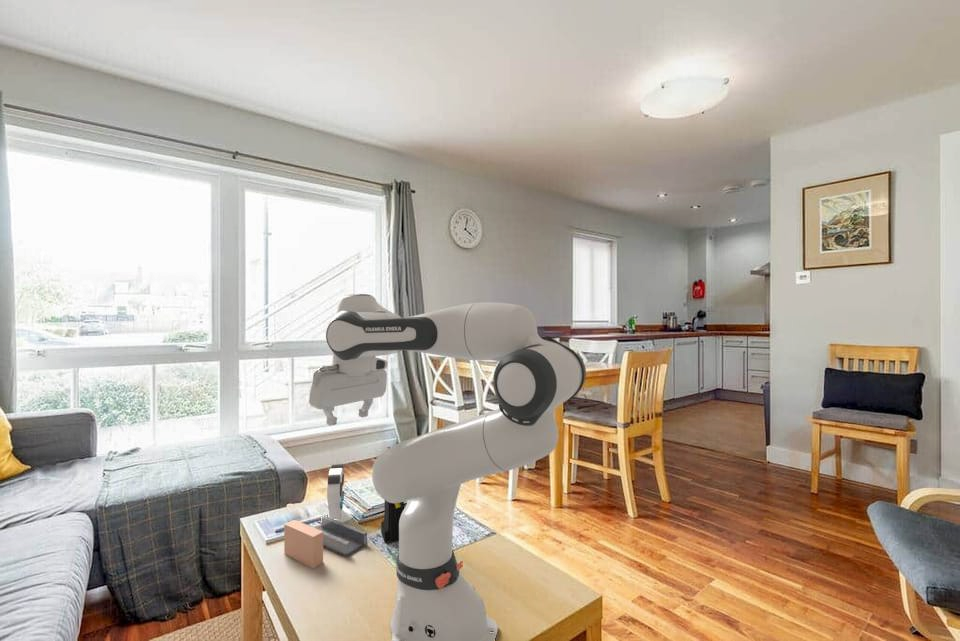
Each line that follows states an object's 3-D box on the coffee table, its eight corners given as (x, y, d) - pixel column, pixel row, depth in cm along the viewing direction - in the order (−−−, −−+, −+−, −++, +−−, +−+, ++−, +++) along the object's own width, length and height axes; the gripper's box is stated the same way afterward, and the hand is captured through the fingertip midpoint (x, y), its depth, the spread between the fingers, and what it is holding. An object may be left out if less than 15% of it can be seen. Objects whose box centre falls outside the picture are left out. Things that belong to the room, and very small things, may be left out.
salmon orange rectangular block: (323, 562, 114) (323, 531, 114) (313, 568, 112) (313, 536, 111) (294, 548, 121) (294, 519, 120) (284, 553, 118) (284, 524, 118)
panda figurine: (352, 524, 135) (352, 475, 134) (313, 527, 132) (313, 477, 132) (355, 507, 146) (355, 461, 146) (318, 510, 144) (319, 464, 144)
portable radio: (407, 541, 125) (407, 453, 124) (385, 545, 123) (385, 455, 122) (401, 528, 132) (401, 445, 132) (380, 532, 130) (381, 447, 129)
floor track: (367, 544, 123) (367, 532, 123) (345, 557, 117) (345, 544, 116) (324, 527, 132) (324, 515, 132) (303, 537, 126) (303, 525, 126)
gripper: (323, 369, 93) (319, 433, 94) (392, 361, 111) (388, 415, 112) (305, 364, 97) (300, 426, 98) (374, 357, 114) (370, 409, 115)
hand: (347, 420), depth 105 cm, fingers open, 8 cm apart
